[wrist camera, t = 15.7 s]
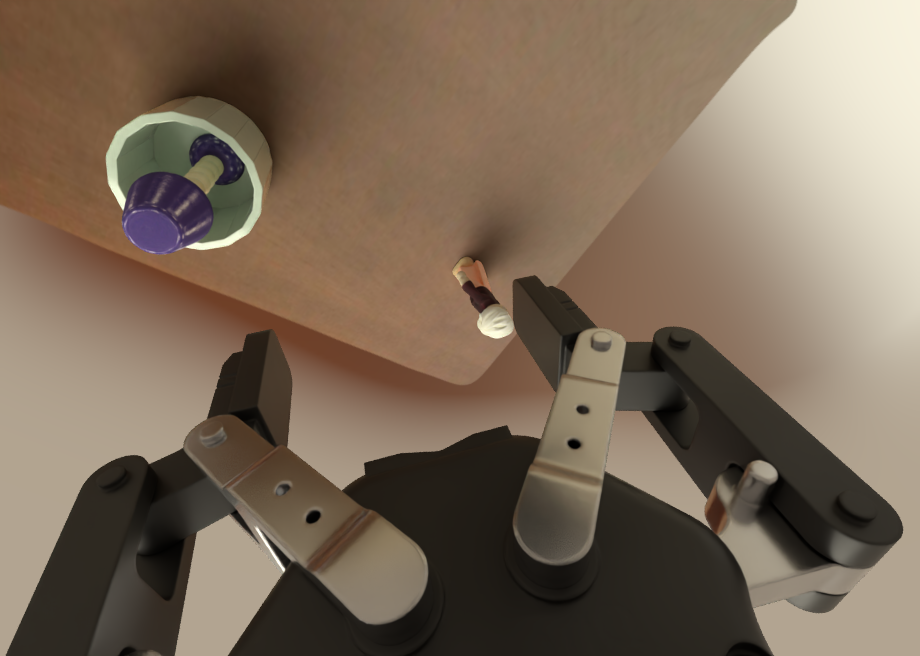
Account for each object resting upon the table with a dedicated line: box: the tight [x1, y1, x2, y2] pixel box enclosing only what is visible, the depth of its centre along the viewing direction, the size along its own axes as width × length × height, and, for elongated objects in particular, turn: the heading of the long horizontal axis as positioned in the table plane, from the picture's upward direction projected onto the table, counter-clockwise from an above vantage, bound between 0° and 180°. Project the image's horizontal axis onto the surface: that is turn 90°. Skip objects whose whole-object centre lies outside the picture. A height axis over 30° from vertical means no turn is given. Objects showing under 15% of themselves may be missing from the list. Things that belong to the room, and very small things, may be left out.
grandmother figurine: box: [453, 257, 514, 338], centre depth 46 cm, size 8×4×13 cm, turn 49°
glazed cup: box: [106, 96, 272, 250], centre depth 35 cm, size 10×10×9 cm
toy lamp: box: [122, 134, 245, 254], centre depth 31 cm, size 5×5×17 cm
